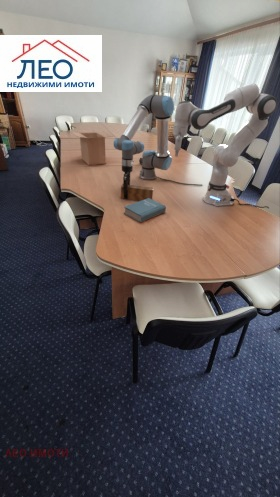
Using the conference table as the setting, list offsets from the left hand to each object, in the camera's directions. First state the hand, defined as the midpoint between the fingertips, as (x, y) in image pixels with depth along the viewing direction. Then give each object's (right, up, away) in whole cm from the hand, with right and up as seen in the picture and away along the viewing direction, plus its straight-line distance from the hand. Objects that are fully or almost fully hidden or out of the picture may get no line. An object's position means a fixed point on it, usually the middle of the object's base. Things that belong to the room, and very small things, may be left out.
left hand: (126, 196), depth 166 cm
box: (-40, +55, +71) cm, 98 cm away
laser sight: (+20, +52, +73) cm, 91 cm away
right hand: (+35, +24, -19) cm, 46 cm away
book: (+14, -15, -19) cm, 28 cm away
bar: (+8, -2, 0) cm, 8 cm away
